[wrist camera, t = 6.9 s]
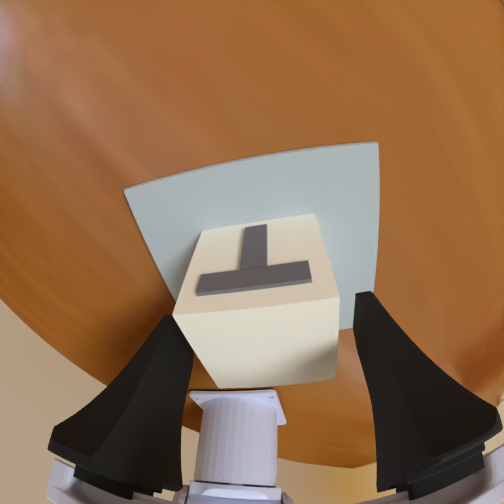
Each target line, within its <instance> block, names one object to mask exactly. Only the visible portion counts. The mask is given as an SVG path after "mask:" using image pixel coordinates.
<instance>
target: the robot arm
mask: <svg viewBox="0 0 504 504" xmlns="http://www.w3.org/2000/svg"><path fill="white" fill-rule="evenodd" d="M353 331H354V337H355V342H356V347H357V351H358V355H359V358H360V362H361V365H362V369H363V372H364V376H365V379H366V383H367V386H368V390H369V394H370V398H371V403H372V410H373V418H374V427H375V438H376V456H377V492H382V491H386V490H390V489H394V488H396V494H393V495H389V496H386V497H382V498H378V499H374V500H370V501H365V502H361V503H356V504H499V503H501V502H502V501H503V500H504V444H503V445H501V446H499V447H498V448H496V449H494V450H493V451H491V452H489V453H487V454H485V455H482V451H484V450H485V445H484V442H485V441H487V440H489V439H490V438H492V437H493V436H495V435H496V434H498V433H499V432H501V431H502V429H503V426H502V422H501V418H500V415H499V413H498V410H497V408H496V407H495V406H493V405H491V404H489V403H488V402H486V401H484V400H482V399H481V398H479V397H478V396H476V395H474V394H473V393H472V392H470V391H469V390H467V389H466V388H464V387H463V386H462V385H460V384H459V383H458V382H457V381H455V380H454V379H453V378H451V377H450V376H449V375H448V374H446V373H445V372H444V371H443V370H442V369H441V368H439V367H438V366H437V365H436V364H435V363H434V362H433V361H432V360H431V359H430V358H428V357H427V356H426V355H425V354H424V353H423V352H422V351H421V350H420V349H419V347H418V346H417V345H416V344H415V343H414V342H413V341H412V340H411V339H410V338H409V337H408V336H407V334H406V333H405V332H404V331H403V330H402V329H401V328H400V326H399V325H398V324H397V323H396V322H395V321H394V319H393V318H392V317H391V316H390V314H389V313H388V312H387V311H386V309H385V308H384V307H383V306H382V304H381V303H380V302H379V300H378V299H377V298H376V296H375V295H374V294H373V292H371V291H365V292H360V293H355V306H354V318H353ZM193 356H194V350H193V349H192V347H191V345H190V344H189V342H188V341H187V339H186V337H185V336H184V334H183V332H182V331H181V329H180V327H179V326H178V324H177V322H176V321H175V319H174V317H173V316H172V315H165V316H164V317H163V318H162V320H161V321H160V322H159V324H158V325H157V326H156V328H155V329H154V330H153V332H152V333H151V334H150V336H149V337H148V338H147V340H146V341H145V342H144V344H143V345H142V346H141V348H140V349H139V350H138V352H137V353H136V354H135V355H134V357H133V358H132V359H131V360H130V362H129V363H128V364H127V365H126V366H125V368H124V369H123V370H122V371H121V372H120V374H119V375H118V376H117V377H116V378H115V379H114V380H113V381H112V382H111V383H110V384H109V385H108V386H107V387H106V388H105V389H104V390H103V391H102V392H101V393H100V394H99V395H98V396H97V397H95V398H94V399H93V400H92V401H91V402H90V403H89V404H88V405H86V406H85V407H84V408H82V409H81V410H80V411H78V412H77V413H76V414H74V415H73V416H71V417H70V418H68V419H66V420H65V421H63V422H61V423H60V424H58V425H56V426H54V429H53V432H52V434H51V438H50V441H49V445H48V450H49V451H51V452H52V453H54V454H56V455H58V456H60V457H62V458H64V459H66V460H68V461H70V462H72V463H74V464H76V467H75V468H74V467H72V466H70V465H68V464H66V463H64V462H62V461H60V460H58V459H54V463H53V466H52V470H51V474H50V478H49V483H48V487H47V491H46V497H47V498H48V499H50V500H51V501H52V502H54V503H55V504H294V502H293V500H292V499H291V498H290V497H289V496H288V495H287V494H286V493H285V492H281V488H275V487H276V481H277V425H284V424H286V418H285V415H284V413H283V410H282V407H281V404H280V401H279V398H278V395H277V392H276V391H275V390H273V389H267V390H249V391H190V393H189V396H190V397H191V398H192V399H193V400H194V401H195V402H196V403H197V404H198V405H199V406H200V407H201V408H202V410H203V415H202V422H201V429H200V436H199V443H198V450H197V457H196V465H195V473H194V481H195V482H194V481H190V485H183V484H182V473H181V429H182V416H183V409H184V404H185V399H186V394H187V390H188V385H189V380H190V376H191V371H192V366H193ZM162 489H166V490H170V491H175V494H174V497H173V501H168V500H164V499H160V498H156V497H153V493H154V492H157V493H162Z"/></svg>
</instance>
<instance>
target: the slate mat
mask: <svg viewBox="0 0 504 504" xmlns="http://www.w3.org/2000/svg"><path fill="white" fill-rule="evenodd" d="M124 193H125V196H126V198H127V200H128V203H129V205H130V208H131V210H132V212H133V215H134V217H135V219H136V222H137V224H138V226H139V228H140V231H141V233H142V235H143V237H144V239H145V242H146V244H147V246H148V248H149V250H150V252H151V254H152V257H153V259H154V261H155V263H156V265H157V267H158V269H159V271H160V273H161V275H162V277H163V279H164V281H165V283H166V285H167V287H168V289H169V290H170V292H171V294H172V296H173V298H174V300H175V302H177V299H178V296H179V293H180V290H181V287H182V284H183V282H184V279H185V276H186V273H187V270H188V267H189V265H190V262H191V259H192V256H193V254H194V251H195V248H196V246H197V243H198V240H199V238H200V235H201V232H202V231H205V230H210V229H216V228H222V227H228V226H234V225H240V224H247V223H253V222H259V221H266V220H272V219H279V218H286V217H292V216H299V215H306V214H313V213H315V216H316V219H317V222H318V225H319V228H320V231H321V235H322V238H323V241H324V244H325V247H326V251H327V254H328V257H329V261H330V264H331V267H332V271H333V274H334V278H335V281H336V285H337V288H338V292H339V296H340V306H339V330H341V329H347V328H353V318H354V306H355V293H360V292H365V291H371V292H373V289H374V281H375V271H376V260H377V247H378V230H379V151H378V143H377V142H362V143H350V144H339V145H330V146H321V147H313V148H305V149H298V150H291V151H284V152H278V153H272V154H266V155H260V156H255V157H249V158H244V159H239V160H234V161H229V162H224V163H220V164H215V165H211V166H206V167H202V168H198V169H194V170H190V171H186V172H182V173H178V174H174V175H170V176H167V177H163V178H159V179H156V180H152V181H149V182H145V183H142V184H139V185H135V186H132V187H129V188H126V189H125V190H124Z"/></svg>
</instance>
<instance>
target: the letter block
mask: <svg viewBox="0 0 504 504" xmlns="http://www.w3.org/2000/svg"><path fill="white" fill-rule="evenodd" d="M339 306H340V296H339V292H338V288H337V285H336V281H335V278H334V274H333V271H332V267H331V264H330V261H329V257H328V254H327V251H326V247H325V244H324V241H323V238H322V235H321V231H320V228H319V225H318V222H317V219H316V216H315V213H313V214H306V215H299V216H292V217H286V218H279V219H272V220H266V221H259V222H253V223H247V224H240V225H234V226H228V227H222V228H216V229H210V230H205V231H202V232H201V235H200V238H199V240H198V243H197V246H196V248H195V251H194V254H193V256H192V259H191V262H190V265H189V267H188V270H187V273H186V276H185V279H184V282H183V284H182V287H181V290H180V293H179V296H178V299H177V302H176V305H175V308H174V311H173V314H172V316H173V317H174V319H175V321H176V322H177V324H178V326H179V327H180V329H181V331H182V332H183V334H184V336H185V337H186V339H187V341H188V342H189V344H190V345H191V347H192V349H193V350H194V352H195V353H196V355H197V356H198V358H199V359H200V361H201V363H202V364H203V366H204V367H205V369H206V370H207V372H208V373H209V374H210V376H211V377H212V379H213V380H214V382H215V383H216V385H217V386H218V388H248V387H266V386H279V385H290V384H300V383H308V382H316V381H323V380H330V379H335V373H336V361H337V348H338V331H339Z"/></svg>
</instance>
